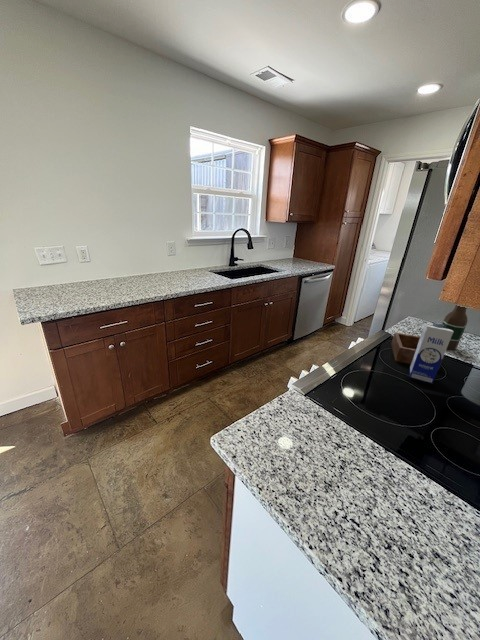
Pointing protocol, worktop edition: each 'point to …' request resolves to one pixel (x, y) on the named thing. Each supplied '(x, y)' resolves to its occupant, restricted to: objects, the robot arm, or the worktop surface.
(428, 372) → the milk carton
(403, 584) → the worktop surface
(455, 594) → the worktop surface
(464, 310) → the beer bottle
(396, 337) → the oak frame
